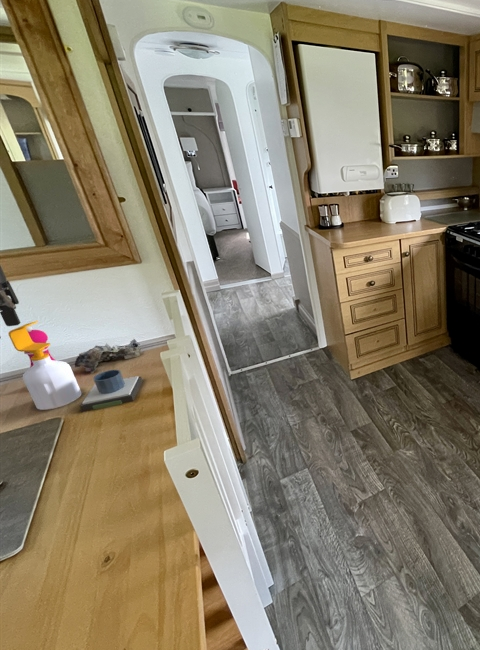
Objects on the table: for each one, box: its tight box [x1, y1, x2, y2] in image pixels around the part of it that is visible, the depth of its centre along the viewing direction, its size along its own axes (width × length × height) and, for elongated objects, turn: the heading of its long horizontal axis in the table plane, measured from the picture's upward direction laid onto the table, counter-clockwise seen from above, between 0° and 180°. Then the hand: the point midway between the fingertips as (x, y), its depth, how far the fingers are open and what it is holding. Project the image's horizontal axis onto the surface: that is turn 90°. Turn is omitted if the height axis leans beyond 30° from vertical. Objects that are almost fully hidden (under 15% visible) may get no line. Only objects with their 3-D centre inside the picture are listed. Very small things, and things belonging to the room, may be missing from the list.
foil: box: [74, 338, 141, 374], centre depth 125 cm, size 12×11×15 cm
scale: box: [79, 375, 144, 412], centre depth 109 cm, size 11×11×3 cm
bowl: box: [92, 369, 125, 394], centre depth 108 cm, size 6×6×4 cm
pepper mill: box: [23, 325, 57, 368], centre depth 110 cm, size 7×7×20 cm
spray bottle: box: [8, 320, 82, 411], centre depth 102 cm, size 9×9×25 cm
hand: (4, 332), depth 86 cm, fingers open, 8 cm apart
